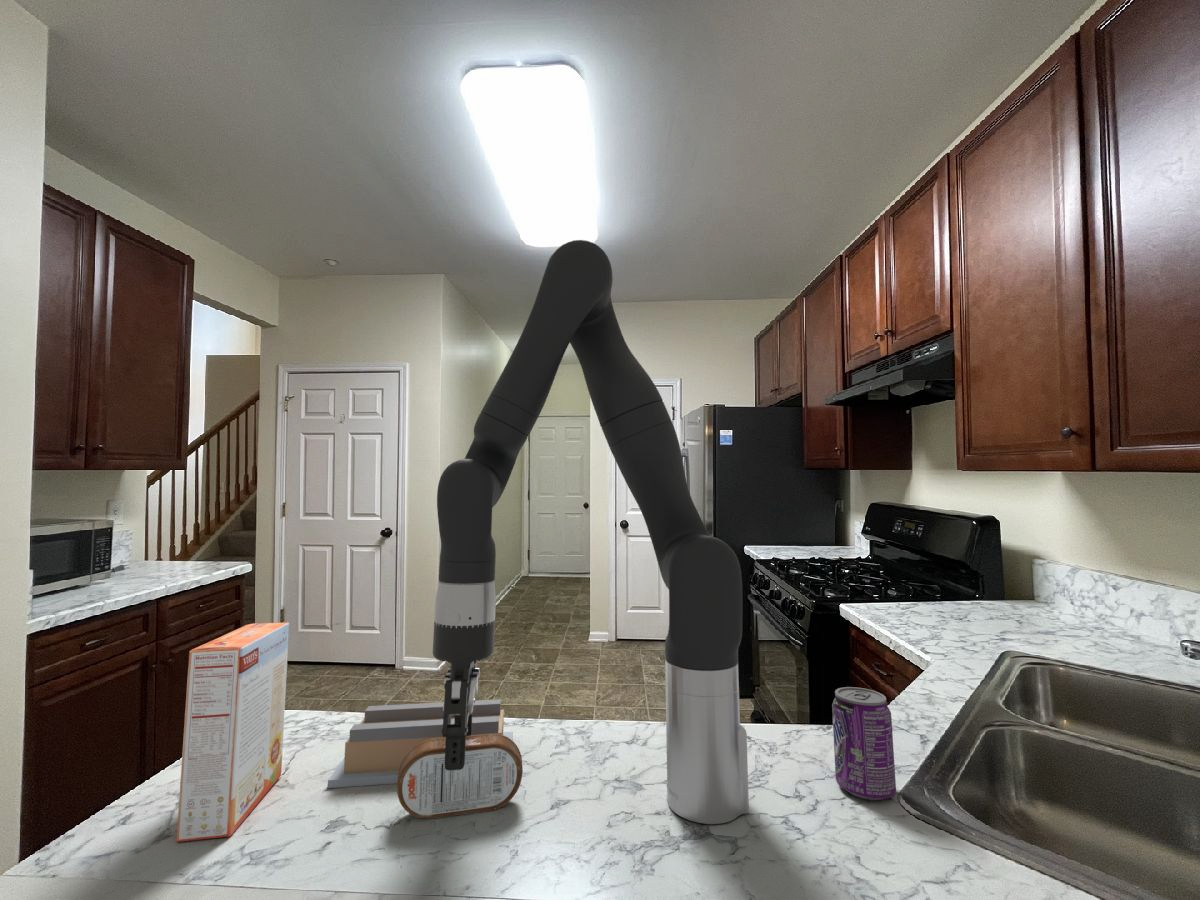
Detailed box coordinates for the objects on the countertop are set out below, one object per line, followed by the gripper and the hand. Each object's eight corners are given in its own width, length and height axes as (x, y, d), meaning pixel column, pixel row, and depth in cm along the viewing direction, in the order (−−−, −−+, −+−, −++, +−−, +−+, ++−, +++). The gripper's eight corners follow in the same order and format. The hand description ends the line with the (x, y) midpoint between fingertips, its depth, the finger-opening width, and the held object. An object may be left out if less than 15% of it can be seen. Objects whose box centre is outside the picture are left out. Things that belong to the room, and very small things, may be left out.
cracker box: (234, 781, 71) (246, 622, 74) (282, 777, 72) (293, 620, 75) (169, 845, 58) (186, 647, 60) (230, 839, 59) (244, 645, 61)
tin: (521, 796, 67) (522, 727, 68) (523, 810, 64) (524, 737, 65) (396, 813, 64) (399, 739, 65) (393, 828, 61) (396, 751, 62)
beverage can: (841, 771, 74) (837, 682, 75) (899, 787, 70) (893, 692, 71) (830, 793, 68) (825, 696, 69) (892, 811, 64) (886, 708, 65)
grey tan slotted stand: (512, 738, 85) (513, 695, 85) (511, 774, 73) (512, 724, 74) (355, 748, 81) (357, 703, 82) (327, 788, 69) (330, 735, 70)
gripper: (492, 629, 60) (485, 779, 58) (497, 606, 74) (492, 727, 72) (424, 629, 59) (415, 783, 57) (442, 607, 73) (436, 729, 71)
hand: (458, 752), depth 65 cm, fingers open, 8 cm apart
